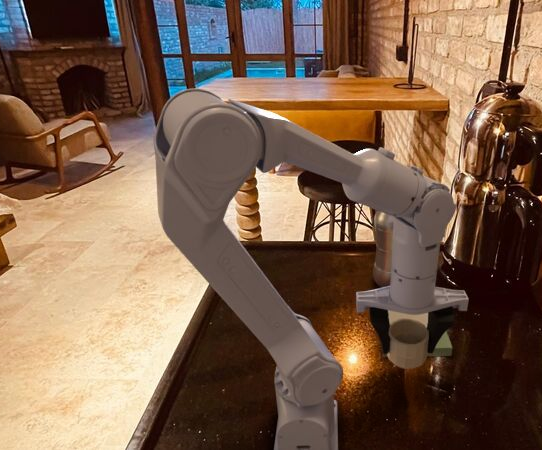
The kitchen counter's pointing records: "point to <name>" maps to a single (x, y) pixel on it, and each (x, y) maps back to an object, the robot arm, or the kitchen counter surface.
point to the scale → (443, 344)
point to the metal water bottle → (383, 248)
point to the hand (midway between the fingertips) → (407, 348)
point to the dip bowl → (407, 343)
